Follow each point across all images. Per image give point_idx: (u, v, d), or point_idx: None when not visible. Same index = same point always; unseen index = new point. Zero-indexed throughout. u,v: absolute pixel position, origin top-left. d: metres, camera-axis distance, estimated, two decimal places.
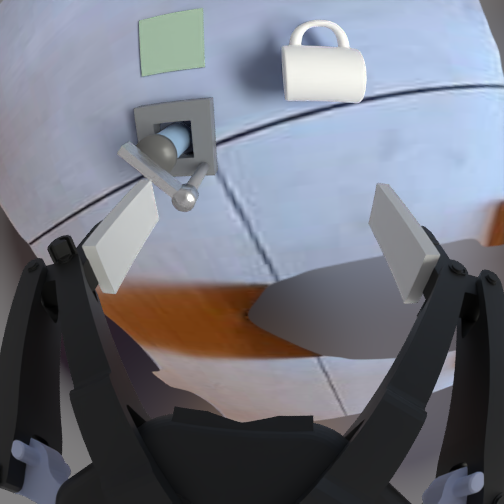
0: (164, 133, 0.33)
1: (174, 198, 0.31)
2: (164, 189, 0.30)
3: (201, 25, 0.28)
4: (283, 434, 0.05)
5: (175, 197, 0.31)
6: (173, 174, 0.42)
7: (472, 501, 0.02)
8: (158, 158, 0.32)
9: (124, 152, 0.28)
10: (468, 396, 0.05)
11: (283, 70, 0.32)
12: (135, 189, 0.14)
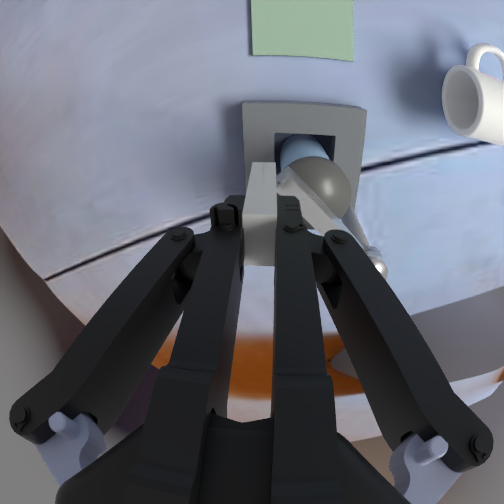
0: (318, 154, 0.21)
1: None
2: None
3: (350, 2, 0.17)
4: None
5: None
6: None
7: (446, 457, 0.04)
8: (322, 199, 0.20)
9: (293, 189, 0.16)
10: (374, 368, 0.07)
11: (445, 91, 0.21)
12: (256, 170, 0.15)
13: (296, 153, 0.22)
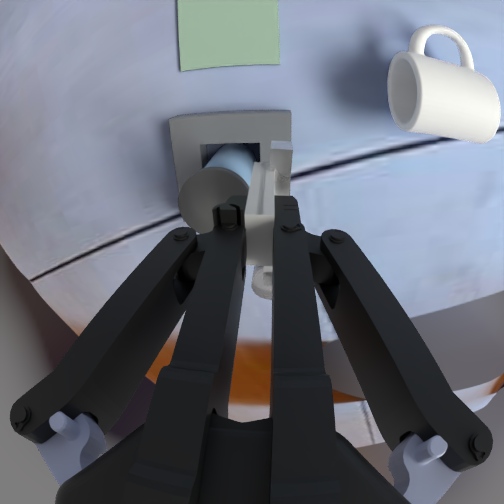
0: (226, 164, 0.22)
1: (265, 275, 0.20)
2: None
3: (275, 3, 0.18)
4: None
5: (268, 274, 0.20)
6: None
7: (446, 457, 0.04)
8: None
9: (284, 161, 0.15)
10: (372, 368, 0.07)
11: (390, 84, 0.21)
12: (258, 170, 0.15)
13: (209, 164, 0.23)
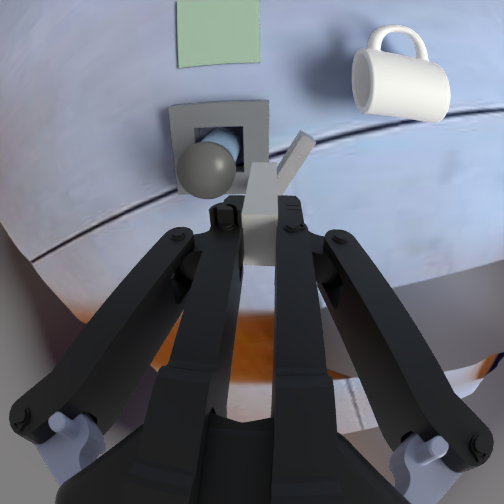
0: (215, 141, 0.27)
1: None
2: None
3: (258, 12, 0.23)
4: None
5: None
6: None
7: (447, 457, 0.04)
8: (211, 173, 0.26)
9: (307, 147, 0.20)
10: (374, 368, 0.07)
11: (353, 76, 0.27)
12: (256, 169, 0.15)
13: (201, 141, 0.28)
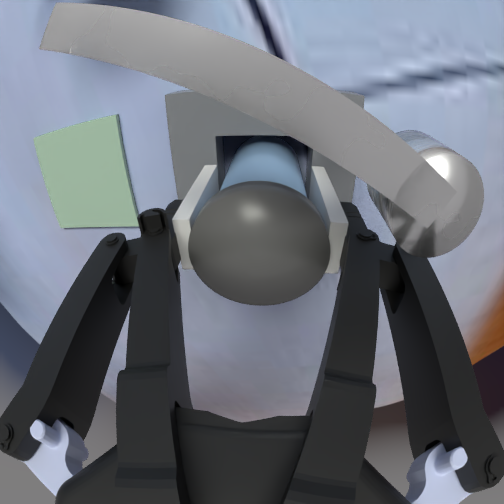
0: None
1: (405, 202, 0.05)
2: (354, 158, 0.05)
3: (53, 133, 0.17)
4: (283, 434, 0.05)
5: (409, 194, 0.05)
6: (347, 193, 0.18)
7: (462, 473, 0.03)
8: (263, 244, 0.11)
9: (69, 18, 0.03)
10: (418, 374, 0.07)
11: None
12: (205, 172, 0.15)
13: None
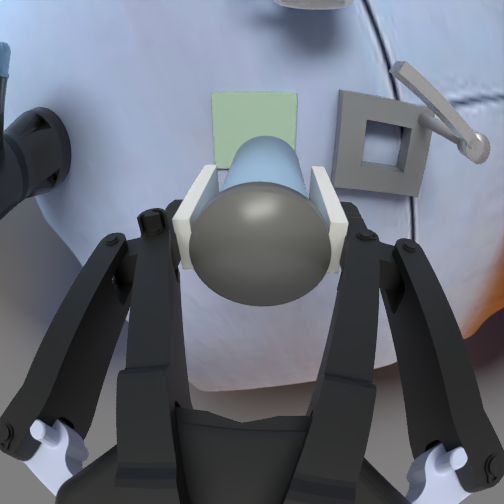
0: None
1: (471, 145, 0.16)
2: (462, 132, 0.15)
3: (236, 93, 0.28)
4: (283, 434, 0.05)
5: (472, 143, 0.16)
6: (424, 160, 0.28)
7: (462, 473, 0.03)
8: (264, 245, 0.11)
9: (410, 71, 0.14)
10: (418, 374, 0.07)
11: (306, 7, 0.21)
12: (205, 173, 0.15)
13: None
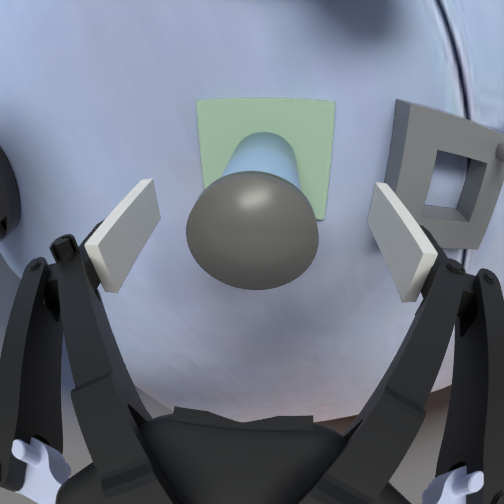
0: None
1: None
2: None
3: (237, 101, 0.18)
4: (283, 434, 0.05)
5: None
6: (493, 204, 0.18)
7: (472, 500, 0.02)
8: (254, 229, 0.12)
9: None
10: (467, 395, 0.05)
11: None
12: (137, 189, 0.14)
13: None
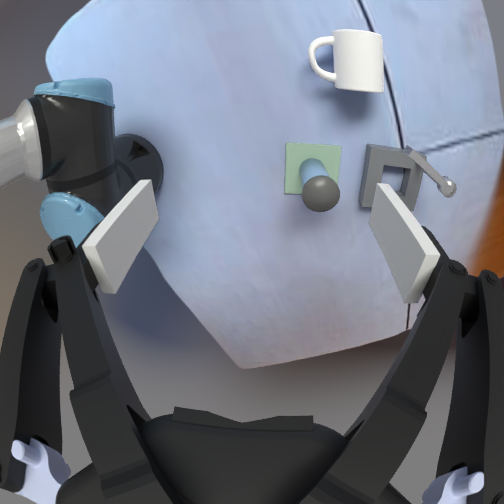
0: (304, 182, 0.43)
1: (444, 188, 0.34)
2: (439, 182, 0.33)
3: (303, 144, 0.46)
4: (283, 434, 0.05)
5: (445, 187, 0.34)
6: (418, 187, 0.46)
7: (472, 501, 0.02)
8: (322, 191, 0.40)
9: (414, 154, 0.31)
10: (468, 396, 0.05)
11: None
12: (135, 190, 0.14)
13: None
